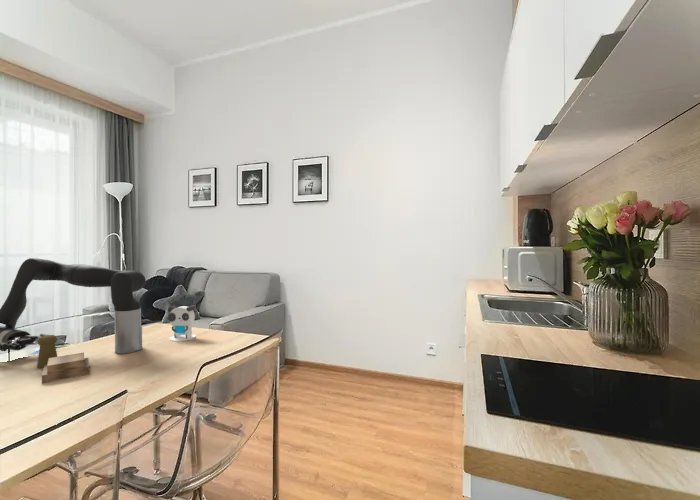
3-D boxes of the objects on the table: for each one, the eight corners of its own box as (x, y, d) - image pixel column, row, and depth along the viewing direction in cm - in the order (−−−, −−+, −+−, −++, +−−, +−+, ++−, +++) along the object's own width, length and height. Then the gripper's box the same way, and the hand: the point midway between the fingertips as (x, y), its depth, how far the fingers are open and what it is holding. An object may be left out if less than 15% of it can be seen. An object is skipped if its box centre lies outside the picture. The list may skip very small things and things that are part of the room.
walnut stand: (88, 364, 124) (88, 350, 124) (89, 374, 115) (89, 359, 115) (44, 372, 116) (44, 357, 116) (41, 383, 107) (41, 367, 107)
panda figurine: (162, 340, 154) (161, 308, 154) (178, 334, 165) (178, 303, 165) (186, 341, 152) (185, 309, 152) (200, 335, 164) (200, 304, 163)
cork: (45, 369, 119) (44, 338, 119) (32, 367, 121) (31, 337, 120) (63, 363, 125) (62, 333, 125) (50, 362, 127) (49, 333, 126)
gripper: (-12, 334, 128) (8, 339, 121) (36, 325, 141) (56, 330, 134) (-11, 353, 128) (8, 360, 121) (36, 343, 141) (57, 348, 134)
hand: (33, 344), depth 127 cm, fingers open, 8 cm apart
